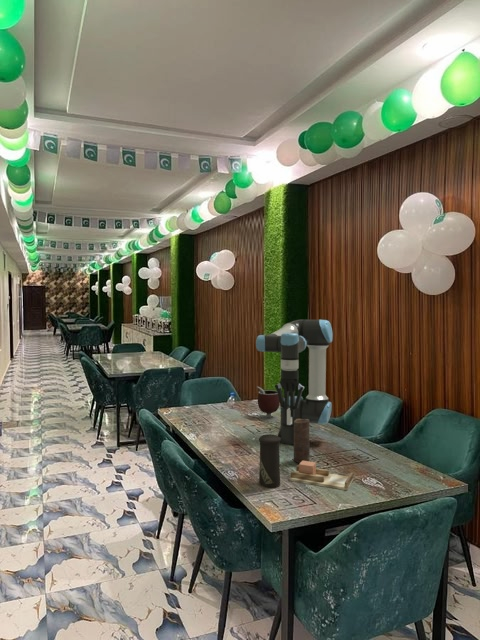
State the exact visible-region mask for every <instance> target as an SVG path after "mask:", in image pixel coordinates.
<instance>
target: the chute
mask: <svg viewBox="0 0 480 640" xmlns="http://www.w3.org/2000/svg"><path fill="white" fill-rule="evenodd" d="M295 467H296V468H295V470H296V471H293V470H291V472H290V477H289V479H288V481H290V482H296V483H301V484H307V485H314V486H320V487H325V488H331V489H335V490H343V491H348V490H349V488H350V486H351V485H352V483H353V481H354V472H352V471H351V472H350V473H349V475H340V474H336V473H330V470H329V469H324V468H319V467H316V475H312V474H306V473H299V464H297V465H296V466H295Z"/></svg>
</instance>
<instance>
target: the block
mask: <svg viewBox="0 0 480 640" xmlns="http://www.w3.org/2000/svg"><path fill="white" fill-rule="evenodd" d="M298 465H299V473H306V474H312V475H316V468H317V462H315V461H310V462H309V461H302V462H301V463H300V462H299V464H298Z"/></svg>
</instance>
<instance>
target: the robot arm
mask: <svg viewBox="0 0 480 640" xmlns="http://www.w3.org/2000/svg"><path fill="white" fill-rule="evenodd" d="M333 334H334V333H333V328H332V324H331V322H330V321H329V320H327V319H296V320H293V321H289V322H287V323H285V324H283V325H282V327H281V328H280V329H277V330H276V331H274V332H272V333H270V334H268V335H266V334H260V335H258V336H257V337H256V340H255V347H256V350H257V351H258V352H264V353H280V381H279V383H277V384H275V385H274V388H275V391H277V393H278V397H279V402H280V404H279V408H280V427H279V428H278V429H279V430H278V432H277V434H276V435H277V436H279V437H280V438H281V441H280V442H279V443H282V444H286V445H294V421H295V420H296V419H309V424H317V425H326V424H328V423H329V422H330V418H331V414H332V409H333V408H332V407H333V406H332V402H331V401H329V397H328V396H327V395H326V389H327V387H326V386H327V385H326V380H327V377H326V375H327V373H326V372H327V348H329V346H330V343H332V342H333ZM306 348H308V349H309V351H308V352H309V355H308V359H309V360H308V361H309V362H308V364H309V365H308V368H309V369H308V370H309V371H308V394H307V396H306V397H305V399H304V398H303V396H302V395H303V391H304V389H305V388H306V387H305V386H304V385H302V384H301V383H300V380H299V379H300V378H299V370H298V369H299V366H300V365H299V364H300V363H299V362H300V361H299V353H302V352H303V351H305V350H306ZM282 389H283V390H282ZM296 390H298V391H297V394H296ZM283 394H284V395H283Z"/></svg>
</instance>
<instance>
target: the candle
mask: <svg viewBox="0 0 480 640" xmlns="http://www.w3.org/2000/svg"><path fill="white" fill-rule="evenodd" d="M310 454H311V453H310V423H309V419H296V420H295V421H294V444H293V461H294V462H297V463H299V464H300V463H301V462H302V461H309V462H311V461H310V458H311V457H310Z"/></svg>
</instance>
